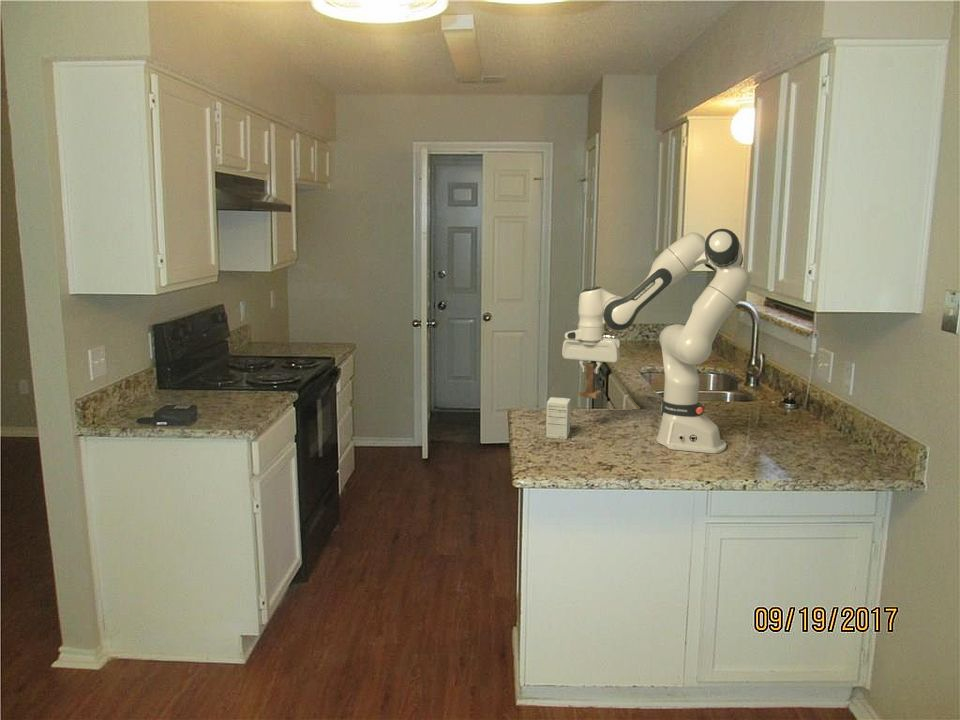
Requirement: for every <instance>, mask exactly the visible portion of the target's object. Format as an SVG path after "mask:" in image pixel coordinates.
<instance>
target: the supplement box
mask: <svg viewBox="0 0 960 720" xmlns="http://www.w3.org/2000/svg"><path fill="white" fill-rule="evenodd" d="M571 402H572V400H571V398H566V397H555V396H554V397H552V396H551V397H549V399H548V400H547V401H546V418H545V419H546V420H545V422H546V423H545V426H546V427H545V438H550V439H556V438H560V439H559V440H567V439H568V437H569V436H570V432H571V405H572V403H571Z"/></svg>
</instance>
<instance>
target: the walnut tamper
mask: <svg viewBox="0 0 960 720" xmlns="http://www.w3.org/2000/svg"><path fill="white" fill-rule="evenodd" d="M585 366H586V373H585V388H584V389H583V390H581V391H580V392H579V393H578V395H579V396H578V397H579V398H585V399H587V398H588V399H595V400H596V399H598V398H599V397H600V396H601V395H602V390H597V389H596V374H593V369H594V368H596V363H594V362H588V363H587V362H586V364H585Z"/></svg>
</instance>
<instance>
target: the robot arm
mask: <svg viewBox="0 0 960 720" xmlns="http://www.w3.org/2000/svg"><path fill="white" fill-rule="evenodd" d="M739 240H740V239H739V238H738V236H737V234H736V233H734V232H733V231H732V230H730V229H727V228H718V229H715V230H713V231H711V232H710V233H709V234H708V236H707V237H706V238H705V237H704V236H703V235H701V234H700V233H698V232H689V233H687V234H685V235H684V236H681V237H680V238H679V239H677V240H675V241H674V242H673V243H671V244H670V245H669V246H667V248H665V249H664V250H663V251H662V252H661V253H660V254H659V255H658V256H657V257H656V258H655V260H654V261H653V262H652V265H651V268H650V271H649V273H648V275H647V277H646V278H645V279H644V280H643V282H641V283H640V284H639V285H638V286H636V287H635V288H634V289H632V291H630V293H629V294H628V295H625V296H620V295H616V294H614V293H611V292H609V291H608V290H605V289H604V288H603V287H602V286H591V287H587V288H584V289H582V290H581V291H580V294H579V297H578V309H577V310H578V312H577V313H578V317H579V320H578V323H577V325H578V326H577V328H575V329H572V330H570V331H567V332H565V334H564V339H565V340H564V341H563V343H562V348H561V355H562V358H563V359H565V360H573V361H574V360H577V361H578V362H579V365H580V367H581V369H582V373H583V374H586V364H585V362H586V361H591V362H596V363H595V365H596V366H595V368H594V369H593V374H595V375H596V374H597V375H598V374H599V372H600V370H599V369H600V367H601V366H602V364H603V363H614V364H615V363H617V362H619V360H621V352H620V347H621V340H620V338H619V337H618V336H616V335H615V334H614V335H609V334H605V324H606V325H607V326H608V328H610V329H611V330H614V331H623V330H626V329H628V328H630V327H631V325H633V323H634V321H635V319H636V317H637V316H638V314H639V313H640V311H641V310H642V309H643V308H645V306H647V304H648V303H650V302H651V301H652V300H653V299H654V298H656V297H657V296H658V295H659V294H660V293H661V292H663V291H664V290H666V289H668V288H669V287H670V286H672V285H674V284H675V283H677V282H679V281H680V280H681V279H683V278H684V277H685V276H687V275H688V274H689V273H690V272H691V271H693V270H694V269H695V268H696V267H698V266H700V265H702V264H704V266H705V267H707V268H708V269H710V270H712V271H713V272H715V274H714V277H713V278H712V279H711V281H710V282H709V284H708V285H707V286H706V287H705V289H704V290H703V291H702V293H701V294H700V295H699V297H698V298H697V299H696V300H695V301H694V303H693V304H692V307H691V312H690V315H689V317H688V319H687V322H686V323H685V324H680V323H677V324H676V323H675V324H670V325H667V326H666V327H664V328H663V329H662V330H661V332H660V334H659V338H658V340H659V345H660V348H661V354H662V363H663V370H664V387H663V389H664V390H663V399H662V401H661V408H660V409H661V410H660V414H661V415H660V416H661V421H660V427H659V430H658V432H657V433H658V434H657V437H656V438H655V439H656V442H657V443H659V444H660V445H662V446H665V447H666V448H668V450H675V451H676V450H677V451H685V452H696V453H704V454H705V453H706V454H719V453H722V452H724V451H725V450H726V449H727V442H726V441H725V440H724V439H721V435H720V430H719V427H718V425H717V424H715V423H714V422H713V421H712V420H711V419H710V418H708V417H707V416H706V415H705V414H704V413H705V412H704V411H705V404H704V403H703V404H702V403H701V402H699V393H700V392H699V389H700V377H699V373H698V371H697V365H701V364H703V363H704V362H706V361H707V360H708V359H709V358H710V356H711V354H712V351H713V349H712V348H713V346H712V345H713V342H714V340H715V339H716V337H717V334H718V333H719V330H720V328H721V327H722V326H723V323H725V321H726V319H728V317H729V316H730V314H731V313H732V312H733V311H734V309H735V308H736V307H737V305H738V304H739V302H740V301H741V300H742V298H743V297H744V296H745V293H746V292H747V290H748V288H749V286H750V284H751V276H750V275H751V274H750V273H749V272H748V270H747V269H745V268H744V267H743V266H742V265H743V262H744V255H743V247H742V244H741V243H740V241H739Z"/></svg>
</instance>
